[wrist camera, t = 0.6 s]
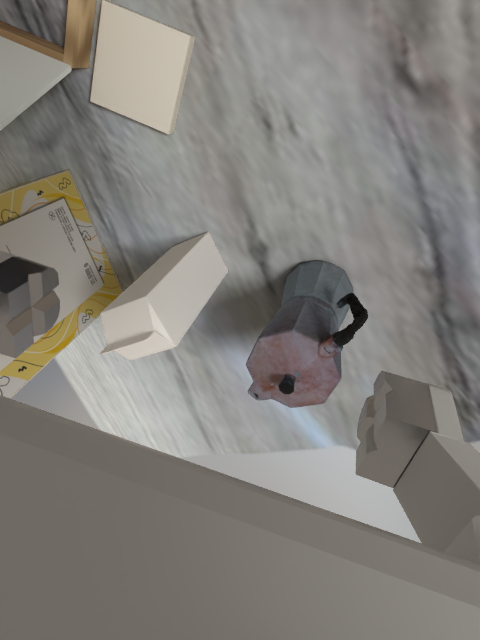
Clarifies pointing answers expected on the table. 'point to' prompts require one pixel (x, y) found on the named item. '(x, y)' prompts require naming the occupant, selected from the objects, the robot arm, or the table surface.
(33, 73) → the propped lid
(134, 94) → the tile
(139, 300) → the milk
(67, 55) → the cold frame
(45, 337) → the pasta box
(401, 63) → the table surface
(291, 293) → the moka pot
